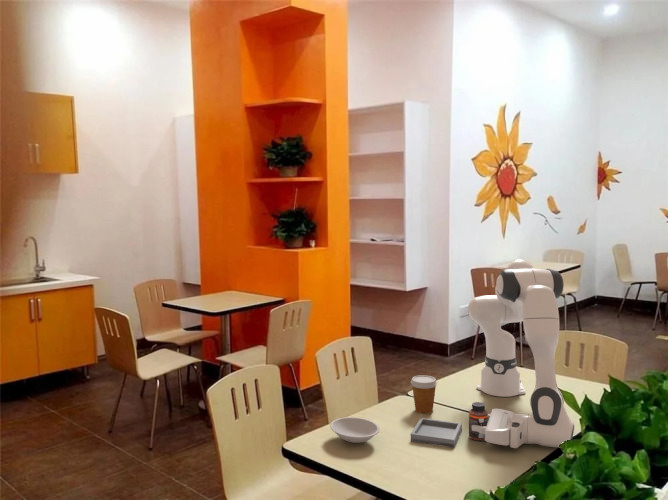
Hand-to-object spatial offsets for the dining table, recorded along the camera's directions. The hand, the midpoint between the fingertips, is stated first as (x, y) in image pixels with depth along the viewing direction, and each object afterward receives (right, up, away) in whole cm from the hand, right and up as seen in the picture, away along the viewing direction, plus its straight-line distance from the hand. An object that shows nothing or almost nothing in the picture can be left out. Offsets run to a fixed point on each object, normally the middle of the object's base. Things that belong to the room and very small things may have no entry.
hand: (474, 422), depth 185 cm
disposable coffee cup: (-12, -3, +24) cm, 27 cm away
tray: (-12, -5, +2) cm, 13 cm away
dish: (-39, -6, -1) cm, 39 cm away
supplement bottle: (+1, -5, 0) cm, 5 cm away
